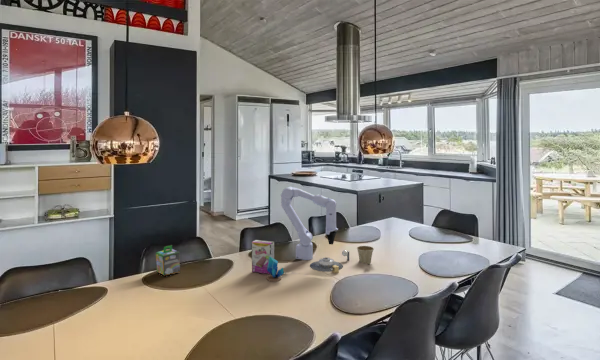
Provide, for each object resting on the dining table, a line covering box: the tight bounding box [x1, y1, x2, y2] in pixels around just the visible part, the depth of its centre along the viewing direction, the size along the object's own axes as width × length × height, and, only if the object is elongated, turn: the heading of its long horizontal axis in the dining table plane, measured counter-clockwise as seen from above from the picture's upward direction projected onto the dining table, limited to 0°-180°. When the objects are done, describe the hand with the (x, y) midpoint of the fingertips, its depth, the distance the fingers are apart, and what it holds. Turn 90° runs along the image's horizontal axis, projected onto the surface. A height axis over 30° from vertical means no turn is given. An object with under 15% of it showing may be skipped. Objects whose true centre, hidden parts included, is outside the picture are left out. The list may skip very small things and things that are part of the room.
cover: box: [318, 256, 335, 268], centre depth 199 cm, size 8×8×4 cm
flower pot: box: [356, 245, 375, 265], centre depth 206 cm, size 9×9×9 cm
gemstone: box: [266, 257, 284, 282], centre depth 183 cm, size 7×9×12 cm
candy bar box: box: [251, 239, 275, 275], centre depth 193 cm, size 11×5×16 cm, turn 71°
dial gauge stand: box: [341, 249, 350, 261], centre depth 209 cm, size 5×4×7 cm
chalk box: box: [155, 244, 181, 275], centre depth 193 cm, size 9×9×15 cm
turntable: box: [309, 260, 344, 274], centre depth 198 cm, size 18×21×4 cm
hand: (331, 244), depth 210 cm, fingers closed
